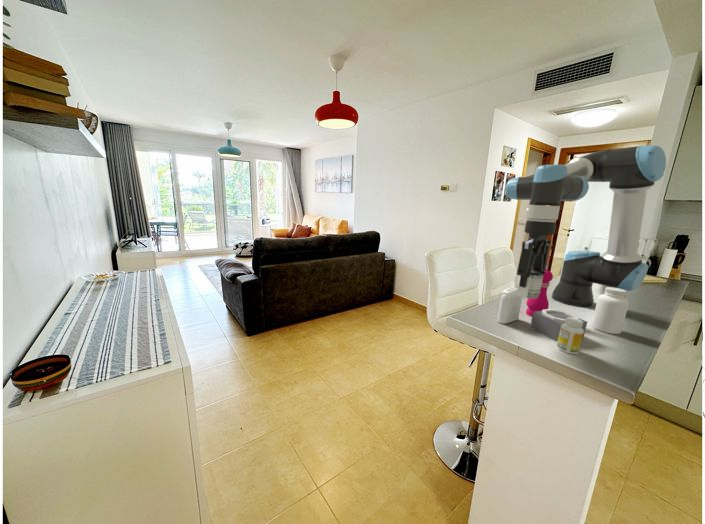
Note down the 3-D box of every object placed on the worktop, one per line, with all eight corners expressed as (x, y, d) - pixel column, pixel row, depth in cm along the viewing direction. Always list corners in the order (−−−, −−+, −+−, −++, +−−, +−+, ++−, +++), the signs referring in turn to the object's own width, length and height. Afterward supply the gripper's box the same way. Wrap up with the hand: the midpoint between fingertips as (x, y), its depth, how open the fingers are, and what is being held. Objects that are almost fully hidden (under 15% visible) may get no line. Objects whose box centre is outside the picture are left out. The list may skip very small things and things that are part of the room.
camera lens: (534, 293, 90) (538, 269, 89) (542, 300, 84) (547, 275, 83) (512, 291, 92) (516, 268, 90) (519, 298, 86) (524, 273, 84)
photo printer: (508, 315, 108) (513, 284, 106) (519, 319, 105) (525, 288, 102) (493, 320, 103) (498, 288, 100) (505, 325, 99) (511, 292, 97)
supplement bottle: (555, 350, 84) (562, 320, 82) (556, 343, 88) (563, 314, 86) (578, 356, 81) (586, 325, 79) (578, 349, 85) (585, 319, 83)
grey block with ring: (554, 325, 101) (558, 308, 100) (583, 338, 92) (587, 319, 90) (530, 327, 98) (533, 309, 97) (557, 341, 89) (561, 322, 88)
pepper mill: (520, 312, 112) (529, 263, 108) (533, 310, 114) (543, 262, 110) (536, 319, 106) (547, 268, 101) (550, 318, 108) (561, 267, 103)
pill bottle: (602, 324, 105) (612, 285, 101) (626, 334, 97) (638, 292, 94) (585, 325, 103) (595, 285, 100) (608, 335, 95) (620, 293, 92)
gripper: (541, 219, 91) (528, 287, 96) (512, 219, 80) (499, 296, 85) (568, 221, 85) (553, 293, 90) (541, 222, 74) (525, 304, 80)
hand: (527, 294), depth 88 cm, fingers closed on camera lens, 6 cm apart
